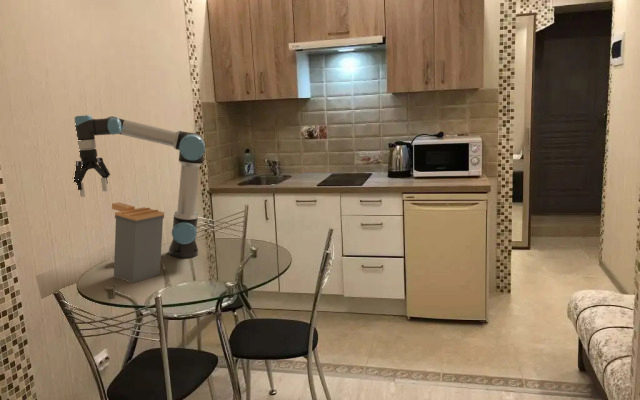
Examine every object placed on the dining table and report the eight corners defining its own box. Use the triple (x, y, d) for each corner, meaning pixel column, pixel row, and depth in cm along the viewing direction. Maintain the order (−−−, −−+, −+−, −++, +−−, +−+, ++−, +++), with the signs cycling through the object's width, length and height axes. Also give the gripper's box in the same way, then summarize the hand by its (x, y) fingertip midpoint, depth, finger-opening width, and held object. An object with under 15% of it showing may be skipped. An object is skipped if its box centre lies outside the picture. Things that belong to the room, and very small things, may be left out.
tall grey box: (112, 276, 228) (115, 214, 223) (140, 267, 243) (143, 209, 237) (133, 283, 223) (135, 220, 217) (160, 274, 237) (164, 215, 232)
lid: (100, 210, 227) (100, 205, 226) (129, 206, 241) (129, 200, 241) (135, 220, 217) (136, 215, 217) (164, 215, 232) (164, 209, 232)
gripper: (102, 146, 249) (108, 188, 253) (58, 152, 227) (66, 198, 231) (114, 146, 246) (119, 189, 250) (70, 152, 224) (78, 199, 228)
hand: (94, 193), depth 240 cm, fingers open, 13 cm apart
